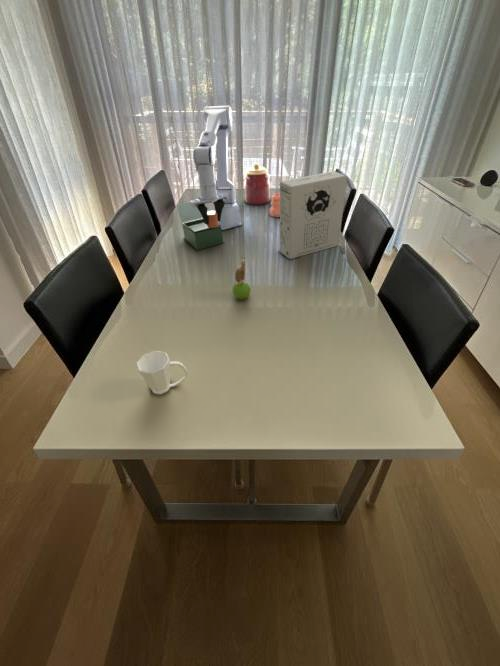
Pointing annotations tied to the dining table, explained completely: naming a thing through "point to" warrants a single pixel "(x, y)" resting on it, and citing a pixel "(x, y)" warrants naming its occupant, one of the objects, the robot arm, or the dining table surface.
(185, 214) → the pale green slab
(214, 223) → the pot
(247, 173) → the kitchen canister
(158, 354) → the cup
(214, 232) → the box
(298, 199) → the cereal box
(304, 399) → the dining table surface
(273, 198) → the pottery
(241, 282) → the figurine on green ball
